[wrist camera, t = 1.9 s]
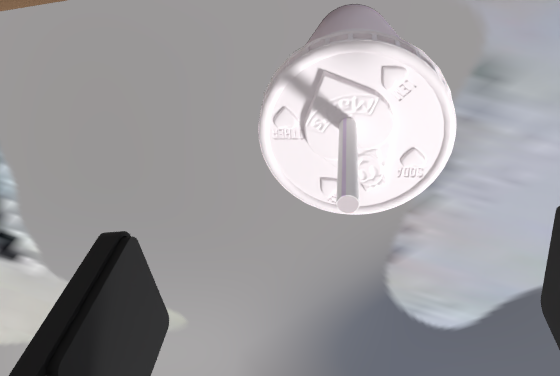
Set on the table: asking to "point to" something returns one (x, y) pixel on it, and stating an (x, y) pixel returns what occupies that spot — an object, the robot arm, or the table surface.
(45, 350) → the robot arm
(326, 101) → the smoothie
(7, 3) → the wooden divided tray
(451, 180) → the table surface
